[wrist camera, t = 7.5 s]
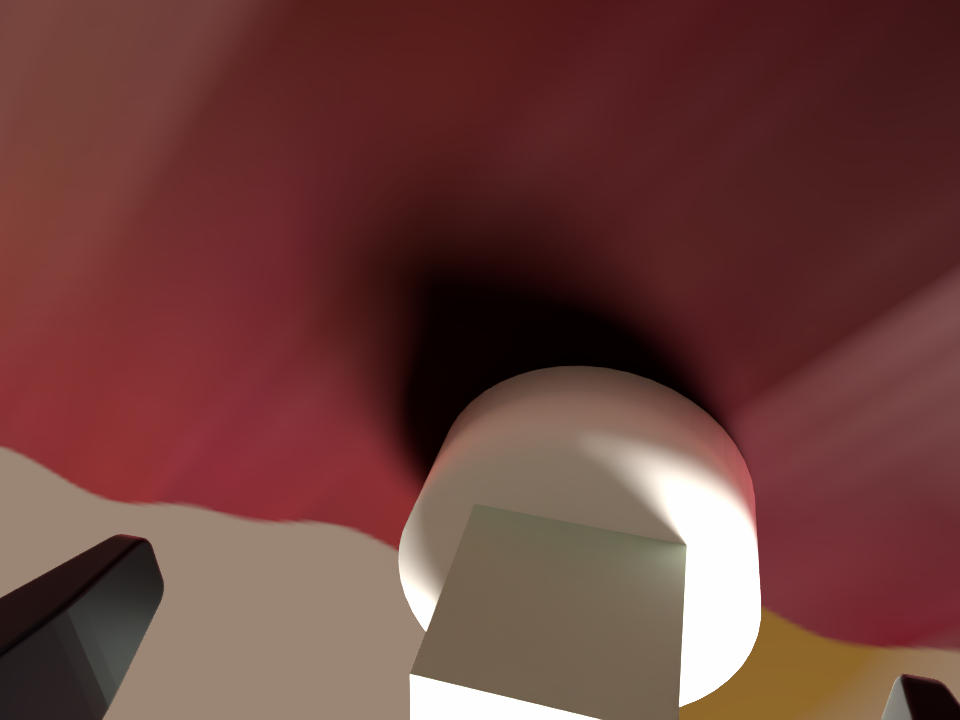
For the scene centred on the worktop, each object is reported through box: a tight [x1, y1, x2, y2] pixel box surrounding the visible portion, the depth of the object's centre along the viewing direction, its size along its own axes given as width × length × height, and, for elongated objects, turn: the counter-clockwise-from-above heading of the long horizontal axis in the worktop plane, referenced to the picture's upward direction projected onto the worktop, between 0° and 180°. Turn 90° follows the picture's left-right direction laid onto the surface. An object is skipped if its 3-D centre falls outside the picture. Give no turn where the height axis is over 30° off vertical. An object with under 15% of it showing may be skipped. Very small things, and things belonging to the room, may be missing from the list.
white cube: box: [410, 504, 687, 720], centre depth 19 cm, size 5×5×5 cm
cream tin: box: [399, 366, 761, 707], centre depth 22 cm, size 9×9×4 cm
